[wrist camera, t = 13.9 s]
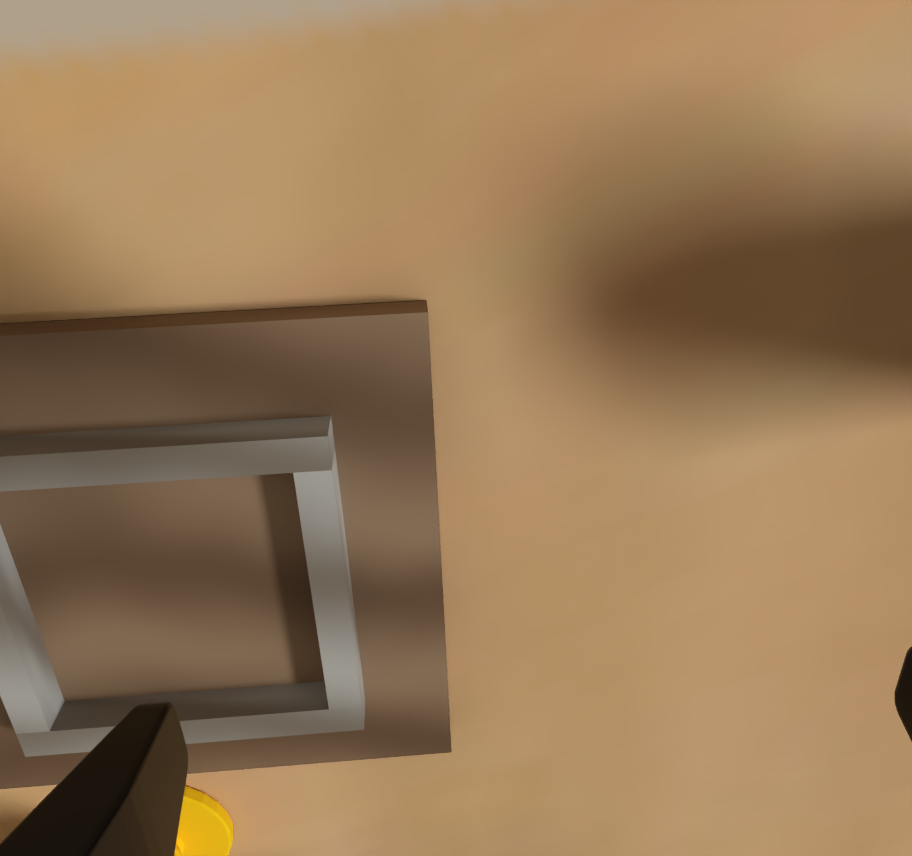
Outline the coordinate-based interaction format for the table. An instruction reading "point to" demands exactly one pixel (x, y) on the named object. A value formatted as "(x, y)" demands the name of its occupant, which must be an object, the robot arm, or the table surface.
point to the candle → (203, 826)
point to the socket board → (221, 536)
